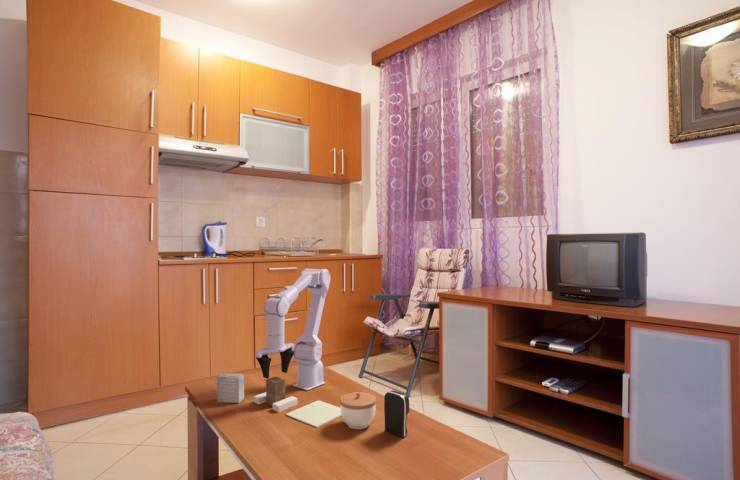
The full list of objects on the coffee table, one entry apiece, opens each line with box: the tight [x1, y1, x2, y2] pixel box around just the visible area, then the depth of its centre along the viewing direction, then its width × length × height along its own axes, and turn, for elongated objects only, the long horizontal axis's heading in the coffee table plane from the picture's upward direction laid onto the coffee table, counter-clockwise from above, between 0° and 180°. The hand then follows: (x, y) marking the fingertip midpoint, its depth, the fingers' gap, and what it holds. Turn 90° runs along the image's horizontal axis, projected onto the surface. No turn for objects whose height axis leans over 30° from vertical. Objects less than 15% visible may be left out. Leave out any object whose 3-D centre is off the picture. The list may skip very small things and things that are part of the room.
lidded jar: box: [339, 391, 377, 430], centre depth 121 cm, size 11×11×9 cm
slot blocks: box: [253, 391, 299, 413], centre depth 137 cm, size 8×13×2 cm, turn 51°
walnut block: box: [265, 376, 286, 407], centre depth 137 cm, size 4×5×8 cm
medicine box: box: [216, 372, 245, 404], centre depth 139 cm, size 8×4×9 cm, turn 84°
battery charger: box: [383, 390, 410, 438], centre depth 115 cm, size 7×4×11 cm, turn 49°
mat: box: [285, 400, 342, 429], centre depth 128 cm, size 14×14×1 cm
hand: (275, 374), depth 137 cm, fingers open, 7 cm apart
